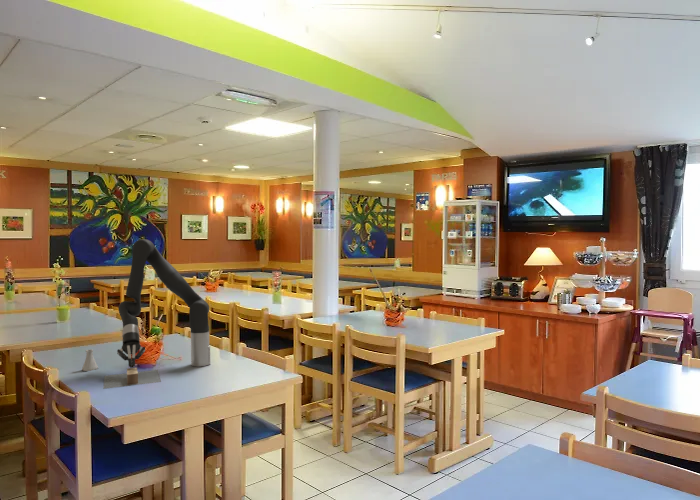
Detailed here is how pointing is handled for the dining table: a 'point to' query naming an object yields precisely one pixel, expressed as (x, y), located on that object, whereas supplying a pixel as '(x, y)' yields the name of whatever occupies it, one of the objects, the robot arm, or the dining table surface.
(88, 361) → the flask
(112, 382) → the rubber mat
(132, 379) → the maple block
